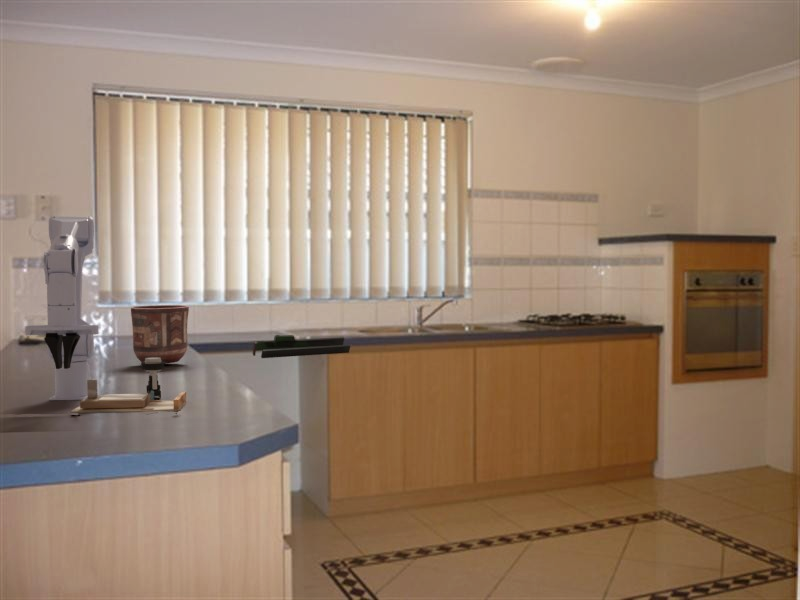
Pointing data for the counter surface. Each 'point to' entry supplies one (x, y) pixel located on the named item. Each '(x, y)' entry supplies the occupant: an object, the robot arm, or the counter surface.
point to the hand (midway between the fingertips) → (63, 368)
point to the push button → (153, 376)
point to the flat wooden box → (151, 406)
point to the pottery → (160, 332)
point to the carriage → (112, 399)
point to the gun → (299, 346)
